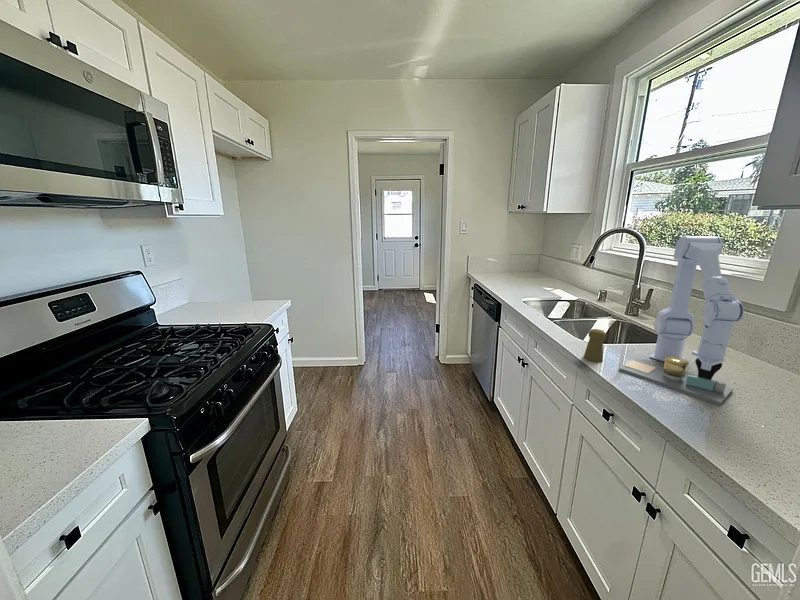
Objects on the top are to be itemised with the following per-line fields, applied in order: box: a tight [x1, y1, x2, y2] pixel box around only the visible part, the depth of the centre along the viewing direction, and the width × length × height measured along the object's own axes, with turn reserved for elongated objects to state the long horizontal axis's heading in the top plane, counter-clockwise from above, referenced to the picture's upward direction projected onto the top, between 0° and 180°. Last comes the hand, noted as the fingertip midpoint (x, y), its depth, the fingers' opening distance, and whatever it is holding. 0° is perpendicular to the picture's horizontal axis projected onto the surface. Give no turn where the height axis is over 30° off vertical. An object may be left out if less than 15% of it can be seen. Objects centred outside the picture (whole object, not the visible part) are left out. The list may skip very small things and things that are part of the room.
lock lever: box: [686, 373, 727, 393], centre depth 96 cm, size 8×2×3 cm, turn 50°
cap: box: [663, 356, 690, 377], centre depth 102 cm, size 6×6×4 cm
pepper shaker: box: [583, 328, 607, 364], centre depth 117 cm, size 6×6×11 cm
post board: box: [618, 358, 734, 406], centre depth 103 cm, size 13×25×2 cm, turn 35°
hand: (702, 384), depth 97 cm, fingers closed, pressing on lock lever
